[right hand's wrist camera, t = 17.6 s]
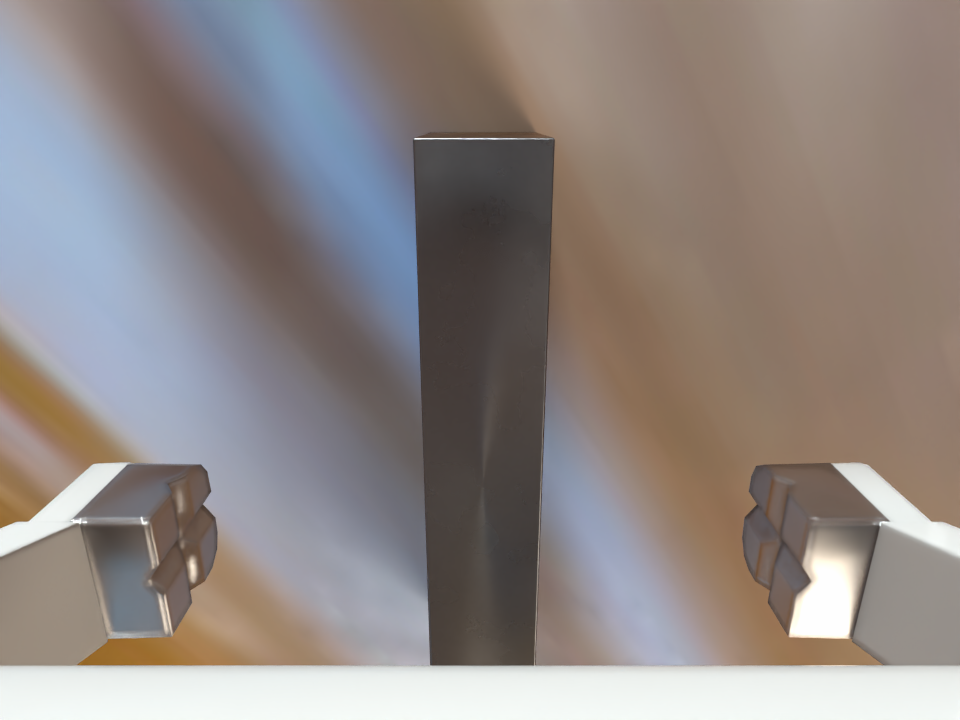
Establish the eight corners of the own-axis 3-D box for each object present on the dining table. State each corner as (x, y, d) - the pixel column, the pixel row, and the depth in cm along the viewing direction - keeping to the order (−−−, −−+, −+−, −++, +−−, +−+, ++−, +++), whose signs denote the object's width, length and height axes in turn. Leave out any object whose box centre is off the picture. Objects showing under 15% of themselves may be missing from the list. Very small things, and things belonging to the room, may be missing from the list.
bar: (428, 132, 31) (412, 137, 24) (537, 132, 31) (555, 137, 24) (440, 612, 40) (432, 723, 33) (523, 612, 40) (533, 723, 33)
